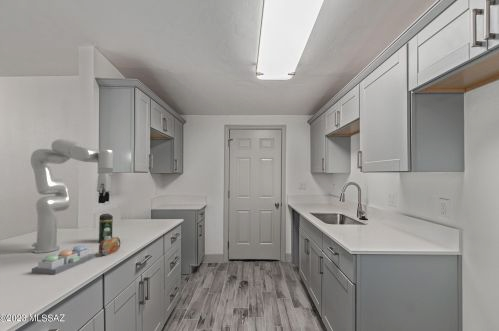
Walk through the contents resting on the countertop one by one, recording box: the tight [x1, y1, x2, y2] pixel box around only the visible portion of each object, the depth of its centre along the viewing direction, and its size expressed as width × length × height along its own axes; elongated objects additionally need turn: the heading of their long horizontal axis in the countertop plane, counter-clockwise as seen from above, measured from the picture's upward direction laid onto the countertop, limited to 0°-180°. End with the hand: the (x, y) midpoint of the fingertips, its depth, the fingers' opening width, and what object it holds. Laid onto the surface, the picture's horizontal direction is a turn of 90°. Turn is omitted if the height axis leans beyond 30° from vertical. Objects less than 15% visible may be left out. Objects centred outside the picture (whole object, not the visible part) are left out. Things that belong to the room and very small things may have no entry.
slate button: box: [72, 245, 85, 252], centre depth 142 cm, size 5×5×3 cm
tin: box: [98, 236, 121, 257], centre depth 155 cm, size 15×3×8 cm, turn 168°
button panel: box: [31, 248, 95, 275], centre depth 134 cm, size 25×12×5 cm, turn 173°
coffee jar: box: [98, 213, 114, 244], centre depth 182 cm, size 10×8×19 cm
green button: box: [44, 254, 59, 262], centre depth 126 cm, size 5×5×3 cm
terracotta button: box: [59, 249, 73, 257], centre depth 134 cm, size 5×5×3 cm
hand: (103, 202), depth 150 cm, fingers open, 9 cm apart
